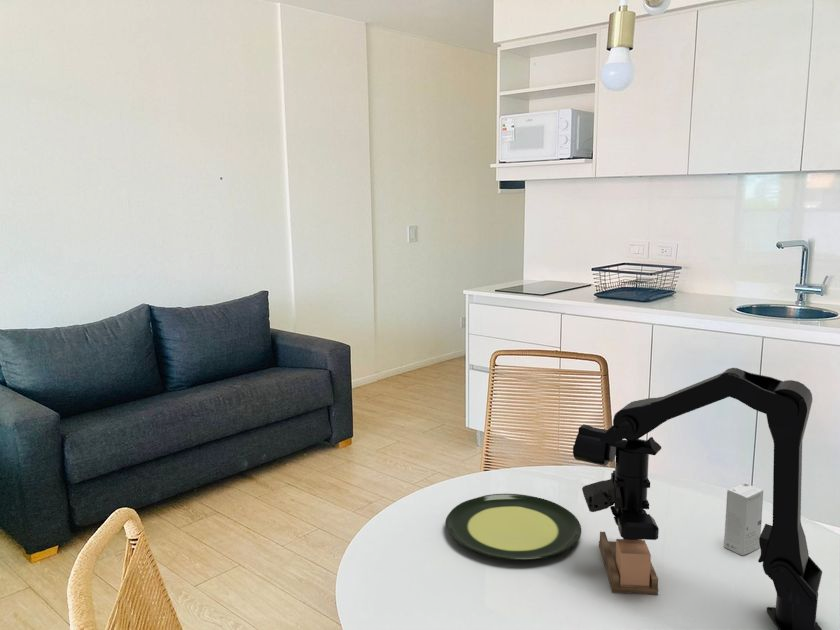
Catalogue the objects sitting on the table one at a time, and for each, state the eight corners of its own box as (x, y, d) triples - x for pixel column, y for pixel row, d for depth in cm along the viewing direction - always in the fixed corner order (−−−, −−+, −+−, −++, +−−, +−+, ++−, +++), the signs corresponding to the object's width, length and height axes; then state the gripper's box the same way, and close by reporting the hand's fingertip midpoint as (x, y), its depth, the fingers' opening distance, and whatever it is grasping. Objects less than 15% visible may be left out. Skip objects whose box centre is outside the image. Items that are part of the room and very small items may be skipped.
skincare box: (743, 556, 127) (748, 498, 125) (721, 546, 131) (726, 489, 129) (761, 547, 130) (765, 490, 128) (739, 537, 134) (743, 482, 132)
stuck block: (649, 586, 116) (650, 554, 115) (620, 584, 117) (621, 553, 116) (643, 570, 121) (644, 540, 120) (615, 568, 122) (616, 538, 120)
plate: (451, 572, 124) (451, 560, 123) (441, 504, 151) (441, 494, 151) (598, 567, 125) (598, 555, 124) (562, 501, 152) (562, 491, 152)
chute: (657, 594, 115) (658, 579, 115) (612, 592, 116) (612, 576, 116) (639, 547, 131) (639, 533, 131) (598, 545, 132) (599, 531, 132)
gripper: (580, 450, 130) (578, 523, 133) (593, 492, 112) (590, 576, 114) (638, 452, 129) (635, 526, 131) (661, 494, 110) (656, 579, 113)
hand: (628, 550), depth 123 cm, fingers closed
